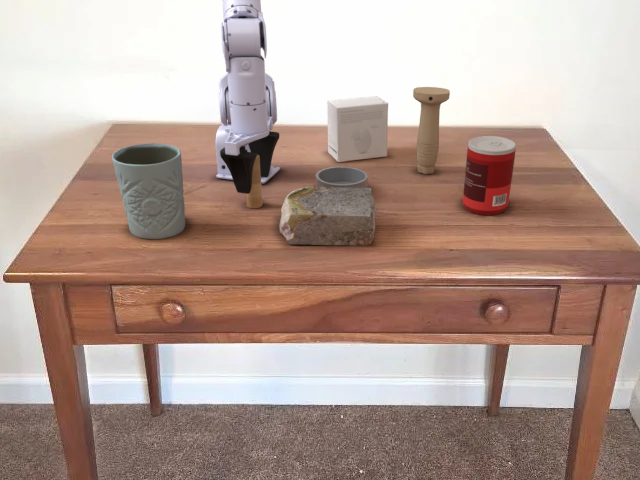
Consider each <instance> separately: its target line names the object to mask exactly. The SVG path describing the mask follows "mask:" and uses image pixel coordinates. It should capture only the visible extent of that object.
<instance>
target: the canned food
mask: <svg viewBox="0 0 640 480" xmlns="http://www.w3.org/2000/svg"><path fill="white" fill-rule="evenodd" d="M516 151H517V144H516V142H515V141H514V140H512V139H509V138H506V137H503V136H498V135H482V136H476V137H473V138H471V139H470V140H468V144H467V151H466V159H465V160H466V162H465V171H464V182H463V192H462V193H463V194H462V205H463V207H464V209H465V210H467V211H468V212H470V213H473V214H476V215H481V216H496V215H500V214H502V213H503V212H505V211H506V210H507V208H508V205H509V201H510V197H511V196H510V195H511V188H512V182H513V181H512V180H513V173H514V166H515V159H516Z"/></svg>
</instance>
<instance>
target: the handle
mask: <svg viewBox="0 0 640 480" xmlns="http://www.w3.org/2000/svg"><path fill="white" fill-rule="evenodd" d="M450 94H451V91H450V90H449V89H448V88H444V87H439V86H438V87H437V86H418V87H414V88H413V91H412V97H413V99H414V100H416V101H417V102H418V103H420V116H419V123H418V131H417V140H416V141H417V142H416V161H417V172H418V173H419V174H423V175H428V174H429V175H430V174H431V175H432V174H434V173H435V170H436V164H437V161H438V155H439V147H440V113H441V112H440V109H441V104H443V103H445V102H447V101H448V100H450Z"/></svg>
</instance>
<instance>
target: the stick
mask: <svg viewBox="0 0 640 480" xmlns="http://www.w3.org/2000/svg"><path fill="white" fill-rule="evenodd" d="M262 192H263V191H262V184H261V172H260V156H259V155H257V156H256V159H255V162H254V165H253V171H252V187H251V192H250V193H249V194H245V200H246V207H247V208H248V209H259V208H262V207H263V193H262Z"/></svg>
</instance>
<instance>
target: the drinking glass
mask: <svg viewBox="0 0 640 480" xmlns="http://www.w3.org/2000/svg"><path fill="white" fill-rule="evenodd" d="M111 161H112V165H113V168H114V173H115V176H116V180H117V183H118V188H119V192H120V196H121V198H122V204H123V208H124V211H125V216H126V219H127V225H128V229H129V233H131V234H132V236H134V237H136V238H139V239H144V240H162V239H168V238H171V237H174V236H177V235H179V234H180V233H182V232H183V231H184V230H185V228H186V212H185V211H186V209H185V197H184V191H185V190H184V176H183V163H182V151H181V149H180V148H179V147H177V146H175V145H172V144H167V143H153V142H152V143H151V142H149V143H138V144H132V145H128V146H125V147H122V148H119V149H118V150H115V151H114V152H113V153H112V155H111Z"/></svg>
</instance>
